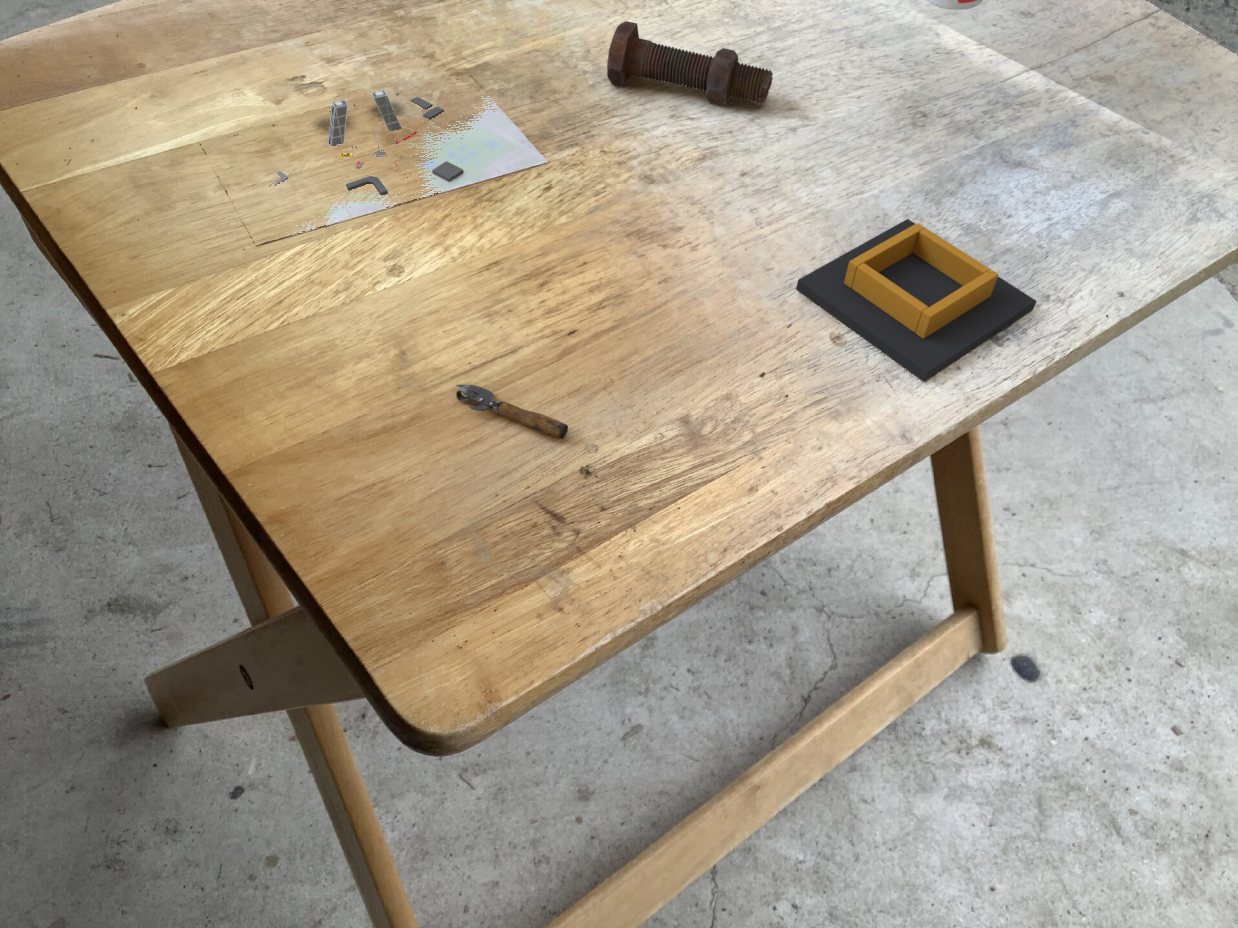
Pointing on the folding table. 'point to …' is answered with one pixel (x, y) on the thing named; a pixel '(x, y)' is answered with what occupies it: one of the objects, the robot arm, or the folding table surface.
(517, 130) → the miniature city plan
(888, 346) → the dock
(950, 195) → the folding table surface
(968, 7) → the pill bottle
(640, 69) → the bolt
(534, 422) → the can opener
